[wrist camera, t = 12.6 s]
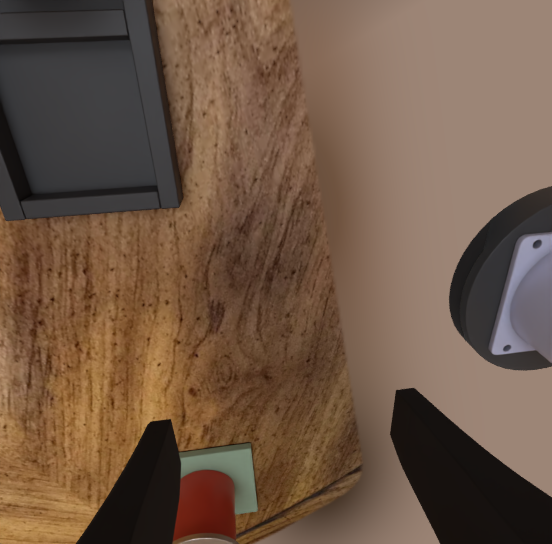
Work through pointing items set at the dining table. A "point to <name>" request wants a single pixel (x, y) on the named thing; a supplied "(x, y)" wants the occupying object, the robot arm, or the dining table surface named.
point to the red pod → (206, 509)
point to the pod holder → (83, 110)
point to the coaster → (227, 470)
